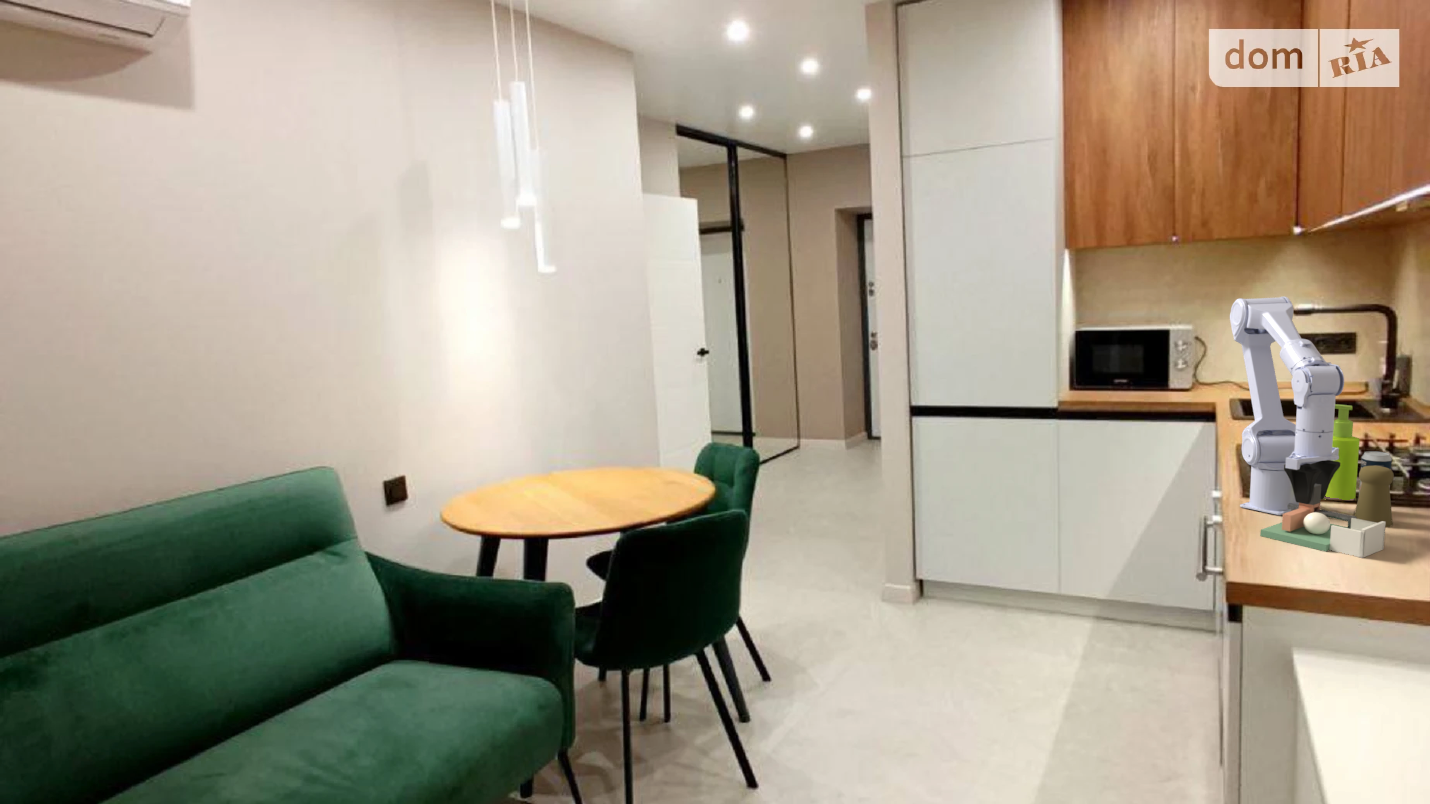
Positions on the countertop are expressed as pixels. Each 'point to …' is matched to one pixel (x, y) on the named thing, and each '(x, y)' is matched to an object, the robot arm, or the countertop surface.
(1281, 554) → the countertop surface
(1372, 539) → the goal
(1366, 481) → the cork
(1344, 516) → the rod
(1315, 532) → the ball
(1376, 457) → the beer can
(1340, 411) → the soap dispenser
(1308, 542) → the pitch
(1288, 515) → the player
